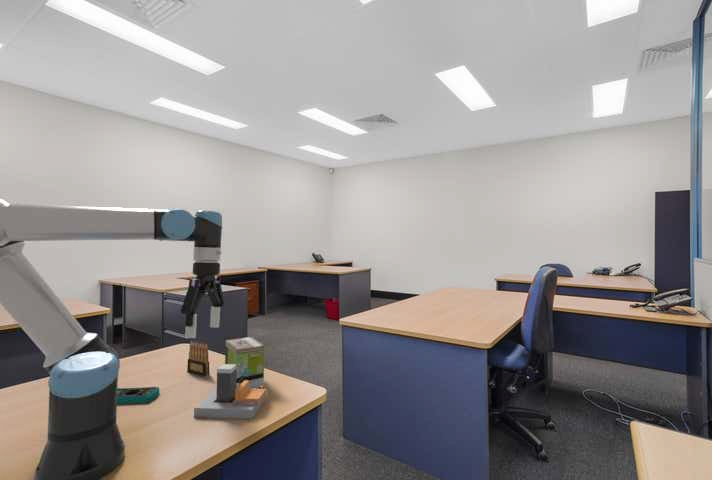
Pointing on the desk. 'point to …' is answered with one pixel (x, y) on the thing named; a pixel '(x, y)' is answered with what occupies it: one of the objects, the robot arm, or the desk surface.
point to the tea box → (246, 360)
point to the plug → (226, 383)
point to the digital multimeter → (136, 395)
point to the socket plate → (226, 408)
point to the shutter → (248, 393)
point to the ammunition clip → (198, 359)
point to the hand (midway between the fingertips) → (203, 332)
